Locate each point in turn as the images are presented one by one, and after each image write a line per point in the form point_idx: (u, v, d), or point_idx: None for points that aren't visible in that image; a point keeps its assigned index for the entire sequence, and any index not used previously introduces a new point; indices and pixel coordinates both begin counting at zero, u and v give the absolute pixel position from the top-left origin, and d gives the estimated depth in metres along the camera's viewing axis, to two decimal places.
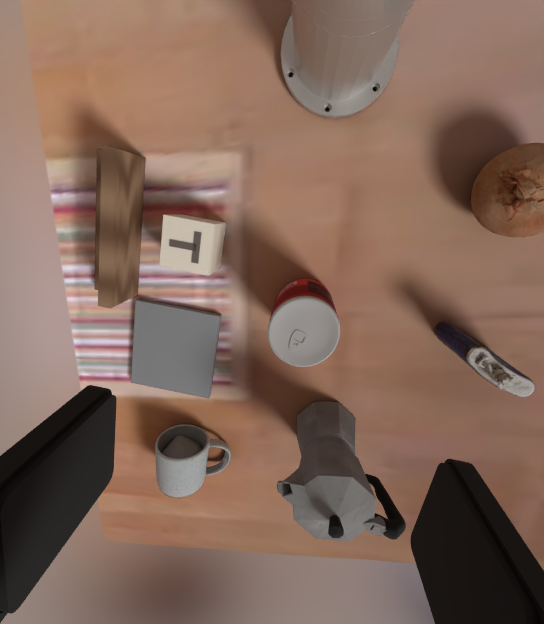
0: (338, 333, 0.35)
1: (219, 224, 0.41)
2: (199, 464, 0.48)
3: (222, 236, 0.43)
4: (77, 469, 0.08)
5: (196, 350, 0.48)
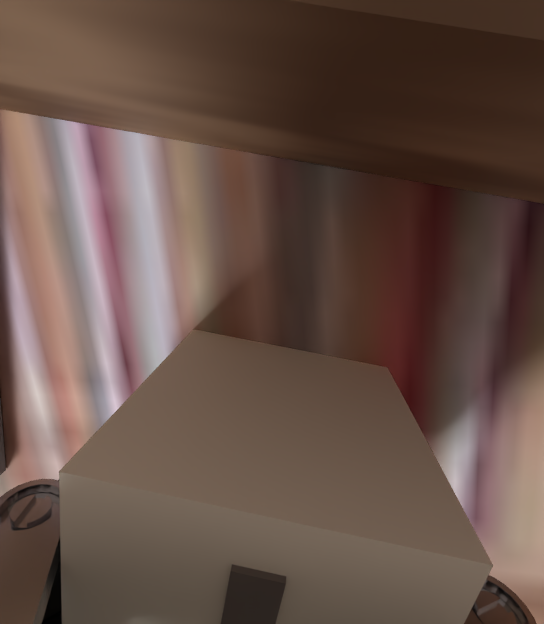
0: None
1: None
2: None
3: None
4: None
5: None
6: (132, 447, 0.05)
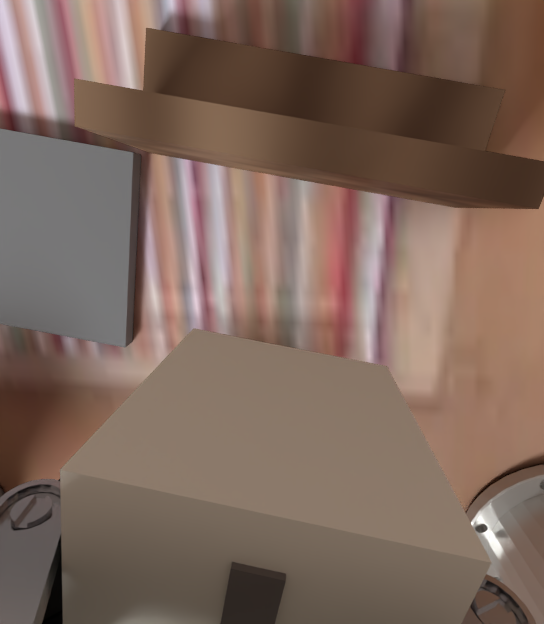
0: None
1: None
2: None
3: None
4: None
5: (40, 293, 0.22)
6: (132, 445, 0.05)
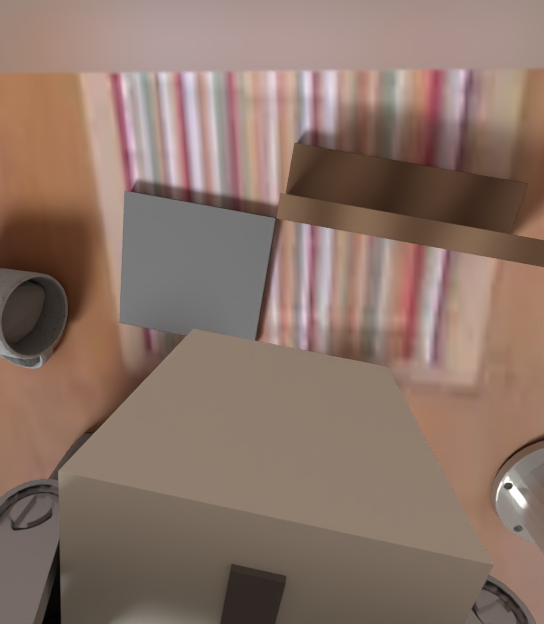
0: None
1: None
2: None
3: None
4: None
5: (197, 310, 0.31)
6: (131, 446, 0.05)
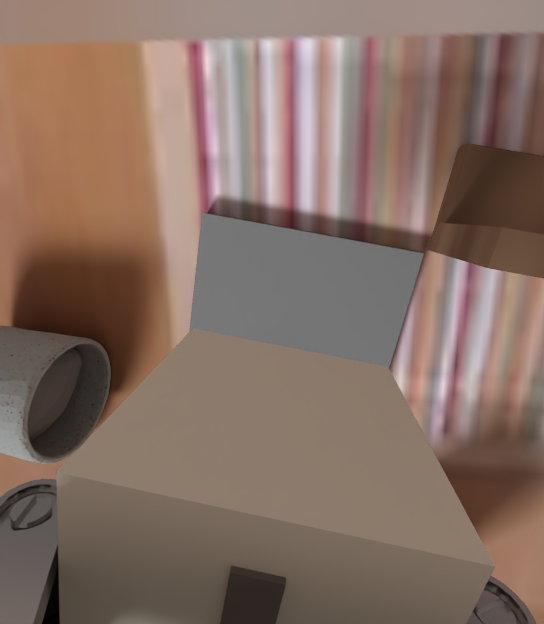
0: None
1: None
2: None
3: None
4: None
5: None
6: (130, 447, 0.05)
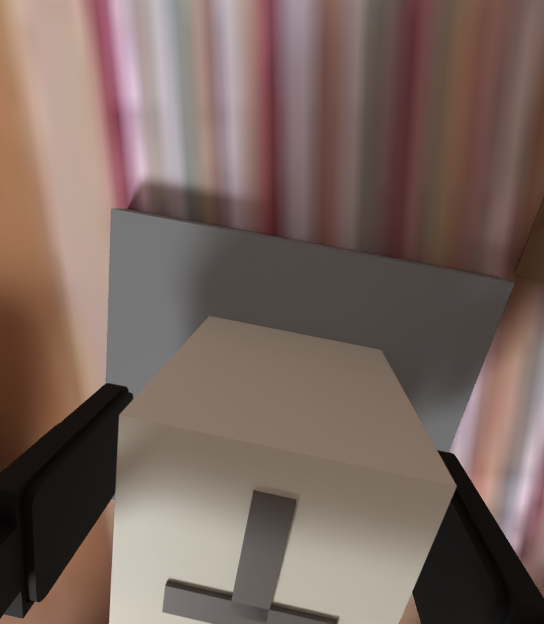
0: None
1: None
2: None
3: None
4: (98, 464, 0.08)
5: None
6: (172, 401, 0.07)
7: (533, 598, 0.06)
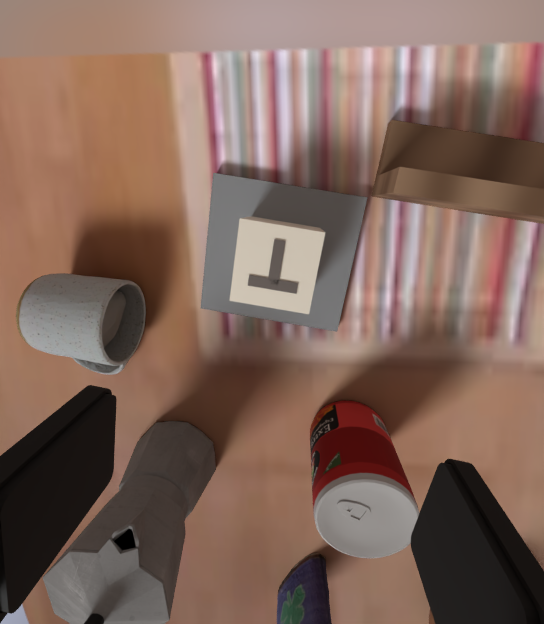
0: (365, 557, 0.26)
1: None
2: (94, 362, 0.29)
3: None
4: (77, 469, 0.08)
5: None
6: (250, 219, 0.24)
7: None
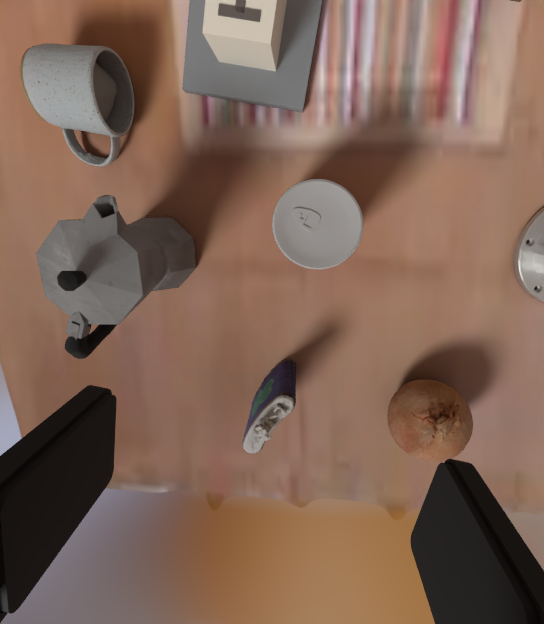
0: (317, 267, 0.30)
1: (271, 55, 0.31)
2: (86, 122, 0.34)
3: (258, 63, 0.34)
4: (77, 469, 0.08)
5: (253, 71, 0.35)
6: None
7: None
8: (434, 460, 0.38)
